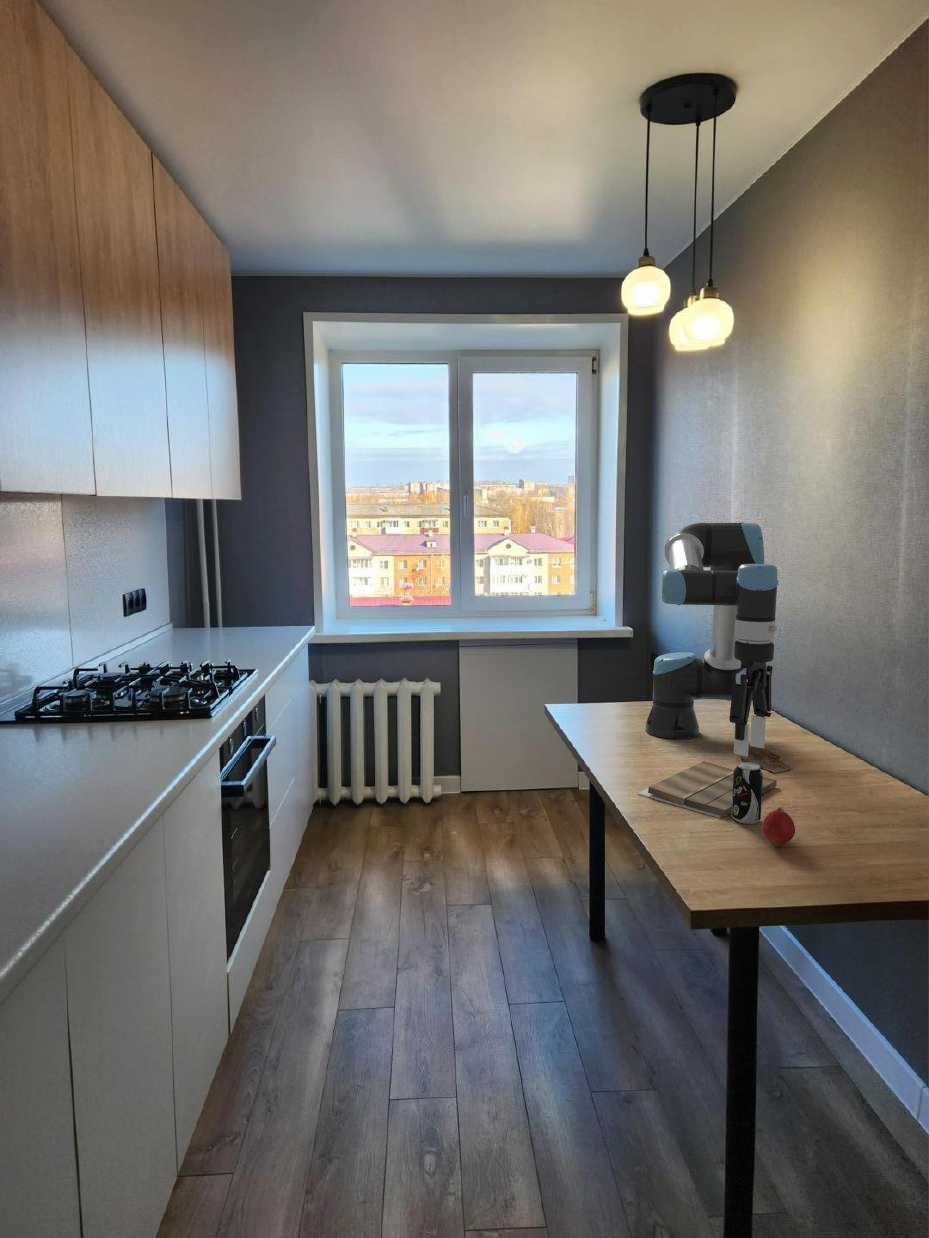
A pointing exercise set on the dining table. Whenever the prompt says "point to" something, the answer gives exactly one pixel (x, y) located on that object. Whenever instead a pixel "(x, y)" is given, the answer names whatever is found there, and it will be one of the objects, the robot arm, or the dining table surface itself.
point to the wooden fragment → (766, 760)
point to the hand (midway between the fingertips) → (749, 750)
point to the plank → (690, 782)
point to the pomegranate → (778, 827)
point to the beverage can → (747, 793)
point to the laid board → (721, 796)
